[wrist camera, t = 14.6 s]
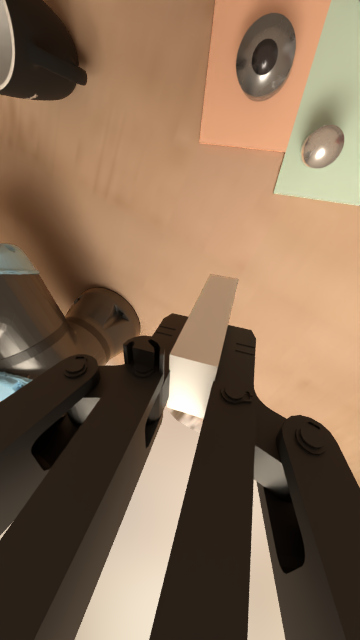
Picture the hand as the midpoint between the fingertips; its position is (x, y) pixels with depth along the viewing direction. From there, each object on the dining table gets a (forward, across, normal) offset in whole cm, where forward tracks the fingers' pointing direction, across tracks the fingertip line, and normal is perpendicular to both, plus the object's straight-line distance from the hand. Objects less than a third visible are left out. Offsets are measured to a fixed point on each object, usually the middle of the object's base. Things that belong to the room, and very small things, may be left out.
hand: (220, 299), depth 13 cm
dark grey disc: (+22, -1, +14) cm, 26 cm away
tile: (+23, -2, +14) cm, 27 cm away
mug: (+24, -25, +15) cm, 37 cm away
